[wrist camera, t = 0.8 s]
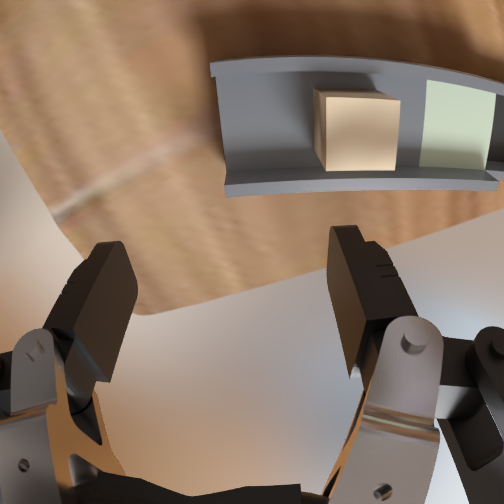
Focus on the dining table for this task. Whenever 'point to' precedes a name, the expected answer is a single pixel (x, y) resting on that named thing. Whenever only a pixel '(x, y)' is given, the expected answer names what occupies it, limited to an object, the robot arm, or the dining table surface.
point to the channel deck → (358, 77)
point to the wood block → (355, 129)
